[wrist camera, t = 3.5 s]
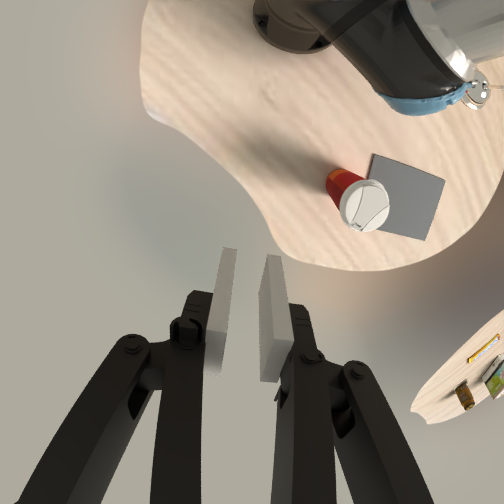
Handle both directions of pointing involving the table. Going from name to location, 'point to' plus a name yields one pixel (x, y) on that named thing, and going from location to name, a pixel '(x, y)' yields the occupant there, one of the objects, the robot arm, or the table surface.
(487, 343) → the candy bar
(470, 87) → the cup with straw
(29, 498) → the robot arm
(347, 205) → the paper cup
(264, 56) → the table surface
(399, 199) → the mat
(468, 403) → the condiment
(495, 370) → the tea box
